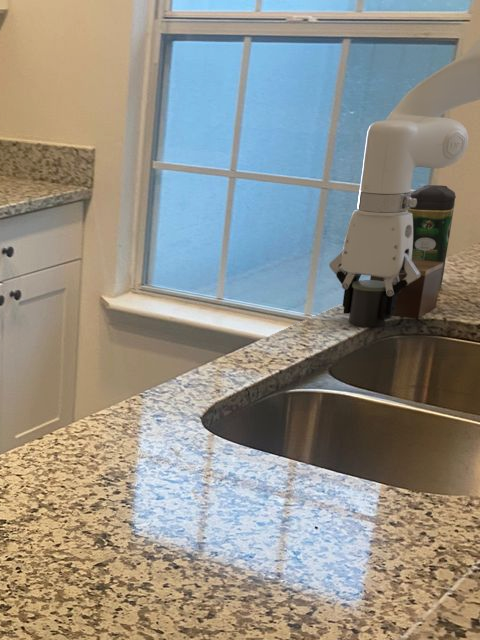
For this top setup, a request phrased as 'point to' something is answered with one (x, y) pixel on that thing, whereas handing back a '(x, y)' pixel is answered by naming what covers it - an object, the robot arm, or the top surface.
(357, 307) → the container
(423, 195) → the coffee jar
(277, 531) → the top surface
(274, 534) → the top surface
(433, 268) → the box
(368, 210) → the robot arm
